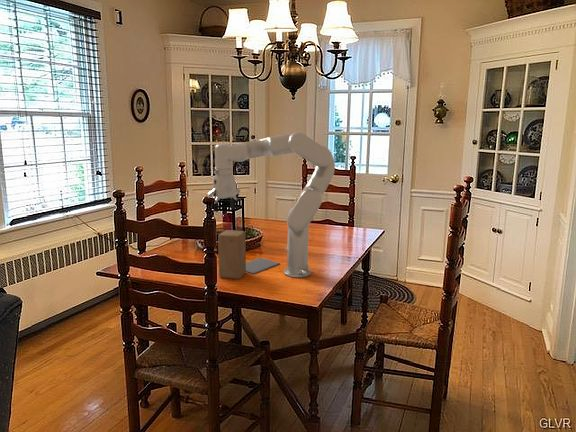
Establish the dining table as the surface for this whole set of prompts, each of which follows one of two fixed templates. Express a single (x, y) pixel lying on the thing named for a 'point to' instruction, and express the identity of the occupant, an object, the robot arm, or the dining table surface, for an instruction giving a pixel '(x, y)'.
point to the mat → (259, 265)
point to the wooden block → (232, 254)
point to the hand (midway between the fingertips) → (224, 210)
